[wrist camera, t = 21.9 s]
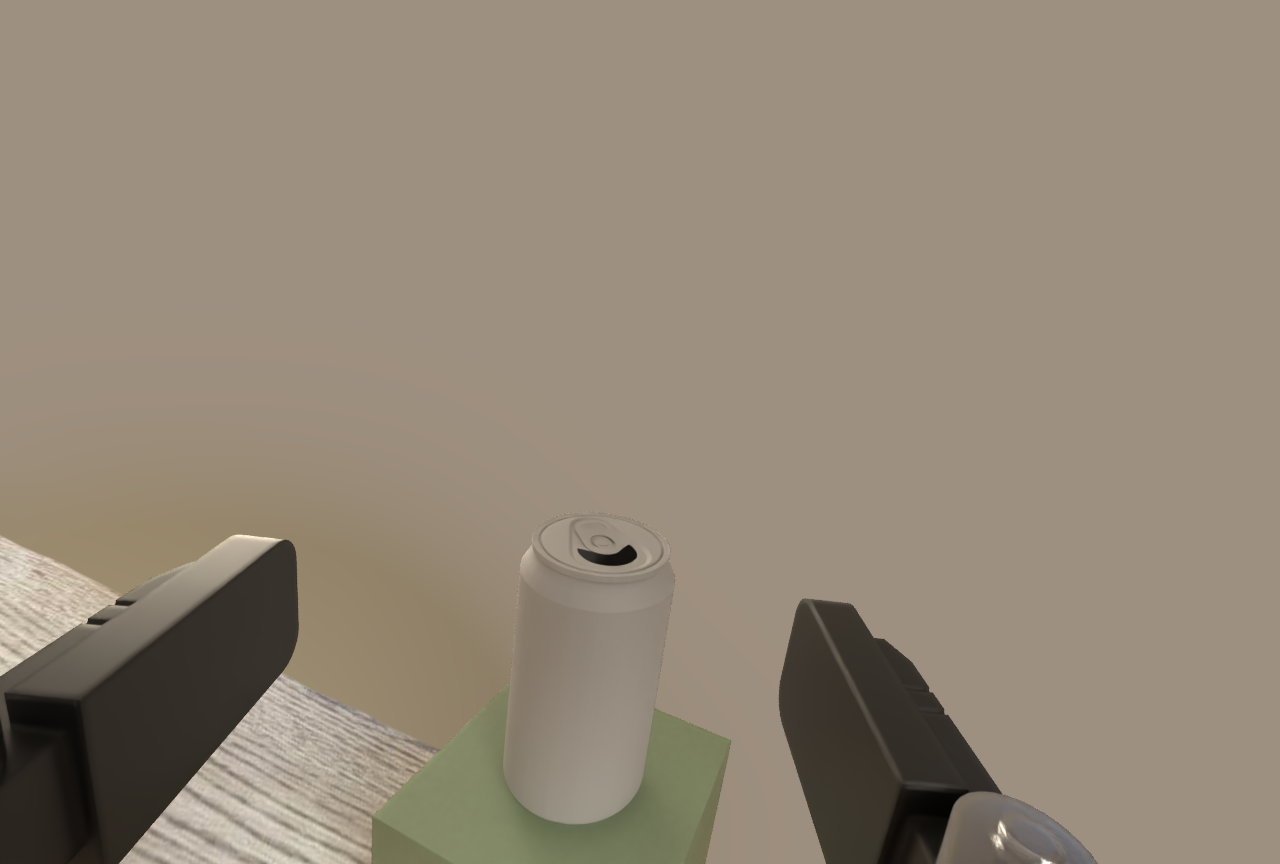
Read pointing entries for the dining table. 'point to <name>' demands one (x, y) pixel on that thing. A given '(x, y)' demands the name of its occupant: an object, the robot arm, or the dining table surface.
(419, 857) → the stand
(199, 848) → the dining table surface
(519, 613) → the beverage can
